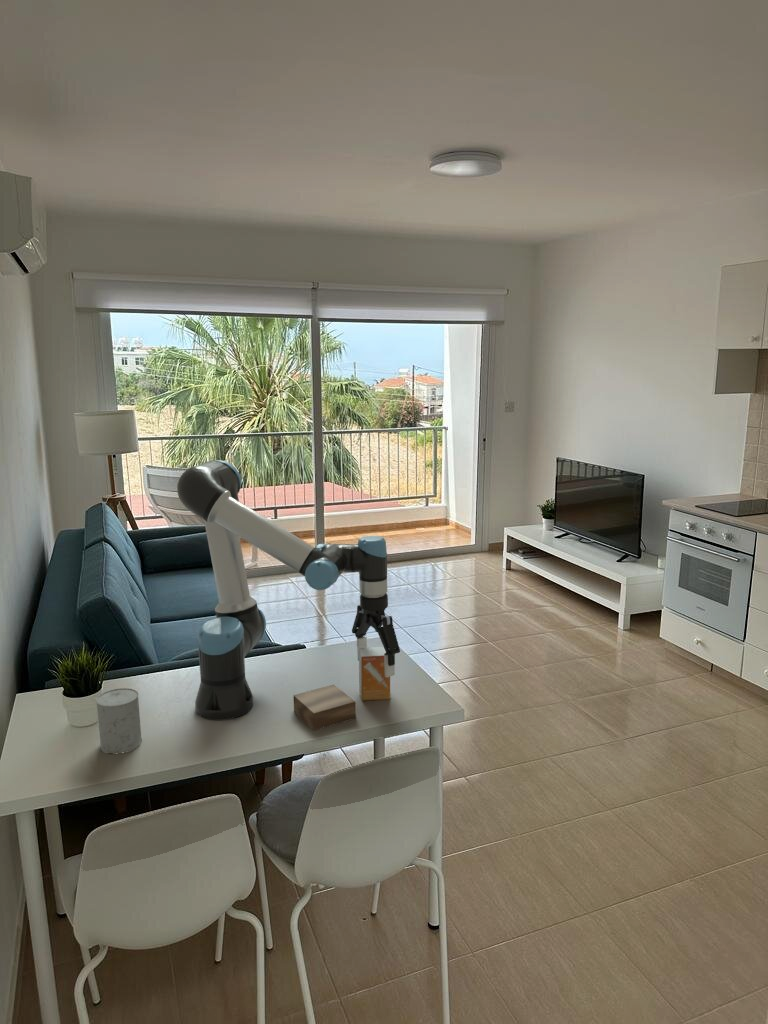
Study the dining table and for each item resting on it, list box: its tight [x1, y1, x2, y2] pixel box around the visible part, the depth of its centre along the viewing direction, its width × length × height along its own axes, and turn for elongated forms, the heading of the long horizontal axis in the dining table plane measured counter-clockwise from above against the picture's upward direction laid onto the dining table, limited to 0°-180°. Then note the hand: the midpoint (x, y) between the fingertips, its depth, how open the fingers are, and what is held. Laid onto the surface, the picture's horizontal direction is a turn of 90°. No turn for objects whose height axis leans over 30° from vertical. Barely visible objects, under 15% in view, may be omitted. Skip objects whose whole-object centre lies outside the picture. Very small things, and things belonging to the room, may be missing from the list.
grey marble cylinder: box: [95, 687, 143, 755], centre depth 175 cm, size 10×10×12 cm
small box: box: [358, 646, 391, 701], centre depth 200 cm, size 8×6×13 cm
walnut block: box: [292, 684, 357, 731], centre depth 190 cm, size 12×12×5 cm
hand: (375, 667), depth 200 cm, fingers open, 13 cm apart
